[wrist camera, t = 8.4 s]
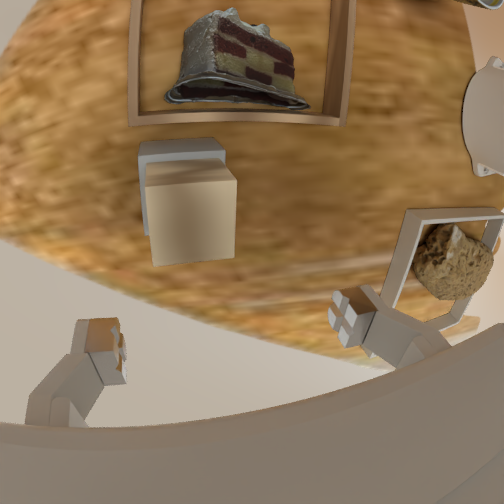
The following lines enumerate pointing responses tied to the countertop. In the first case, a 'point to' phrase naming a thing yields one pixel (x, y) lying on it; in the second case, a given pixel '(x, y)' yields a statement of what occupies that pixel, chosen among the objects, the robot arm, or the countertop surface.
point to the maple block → (190, 210)
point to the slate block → (174, 158)
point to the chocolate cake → (234, 64)
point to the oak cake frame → (332, 109)
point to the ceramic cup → (483, 3)
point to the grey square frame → (409, 243)
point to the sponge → (452, 263)
